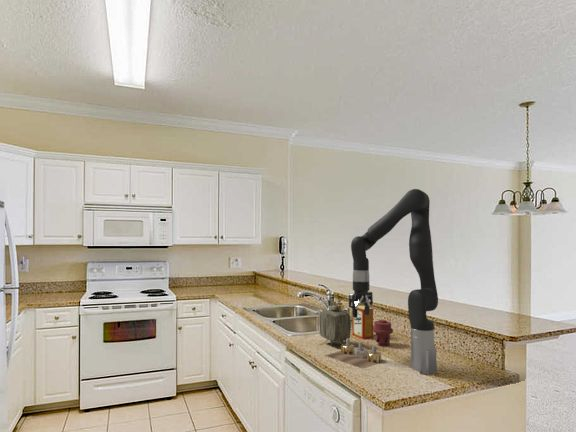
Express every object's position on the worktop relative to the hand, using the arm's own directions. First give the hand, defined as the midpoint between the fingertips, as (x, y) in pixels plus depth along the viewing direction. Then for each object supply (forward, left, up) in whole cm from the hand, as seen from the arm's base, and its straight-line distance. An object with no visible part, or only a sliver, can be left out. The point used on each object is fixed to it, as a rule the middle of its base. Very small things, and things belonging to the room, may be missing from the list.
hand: (361, 315), depth 178 cm
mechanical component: (+7, -25, -19) cm, 32 cm away
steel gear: (0, +1, -18) cm, 18 cm away
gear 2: (-8, +1, -18) cm, 19 cm away
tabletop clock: (+20, -3, -19) cm, 28 cm away
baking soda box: (+24, -30, -19) cm, 43 cm away
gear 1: (+7, +1, -18) cm, 19 cm away
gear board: (0, +5, -19) cm, 19 cm away
